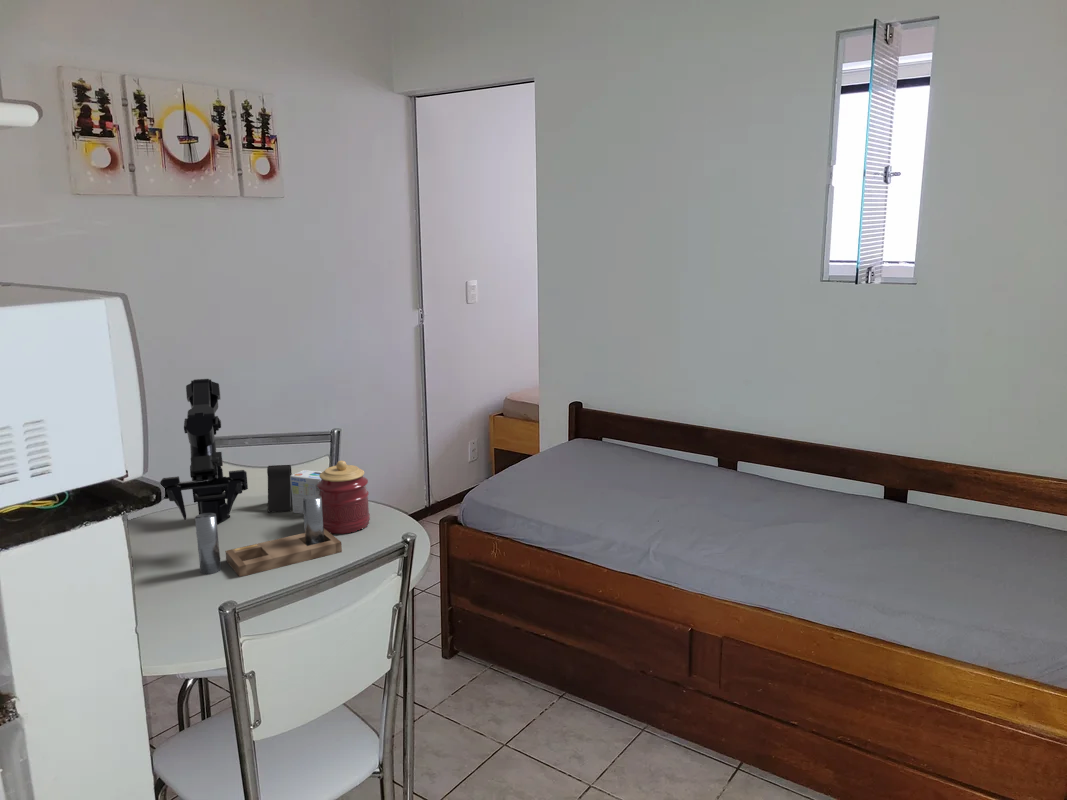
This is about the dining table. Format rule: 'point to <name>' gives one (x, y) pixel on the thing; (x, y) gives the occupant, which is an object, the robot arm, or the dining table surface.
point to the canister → (344, 498)
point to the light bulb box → (303, 487)
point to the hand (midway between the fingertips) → (206, 516)
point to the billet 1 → (208, 543)
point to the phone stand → (279, 488)
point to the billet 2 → (313, 519)
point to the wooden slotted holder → (279, 553)
